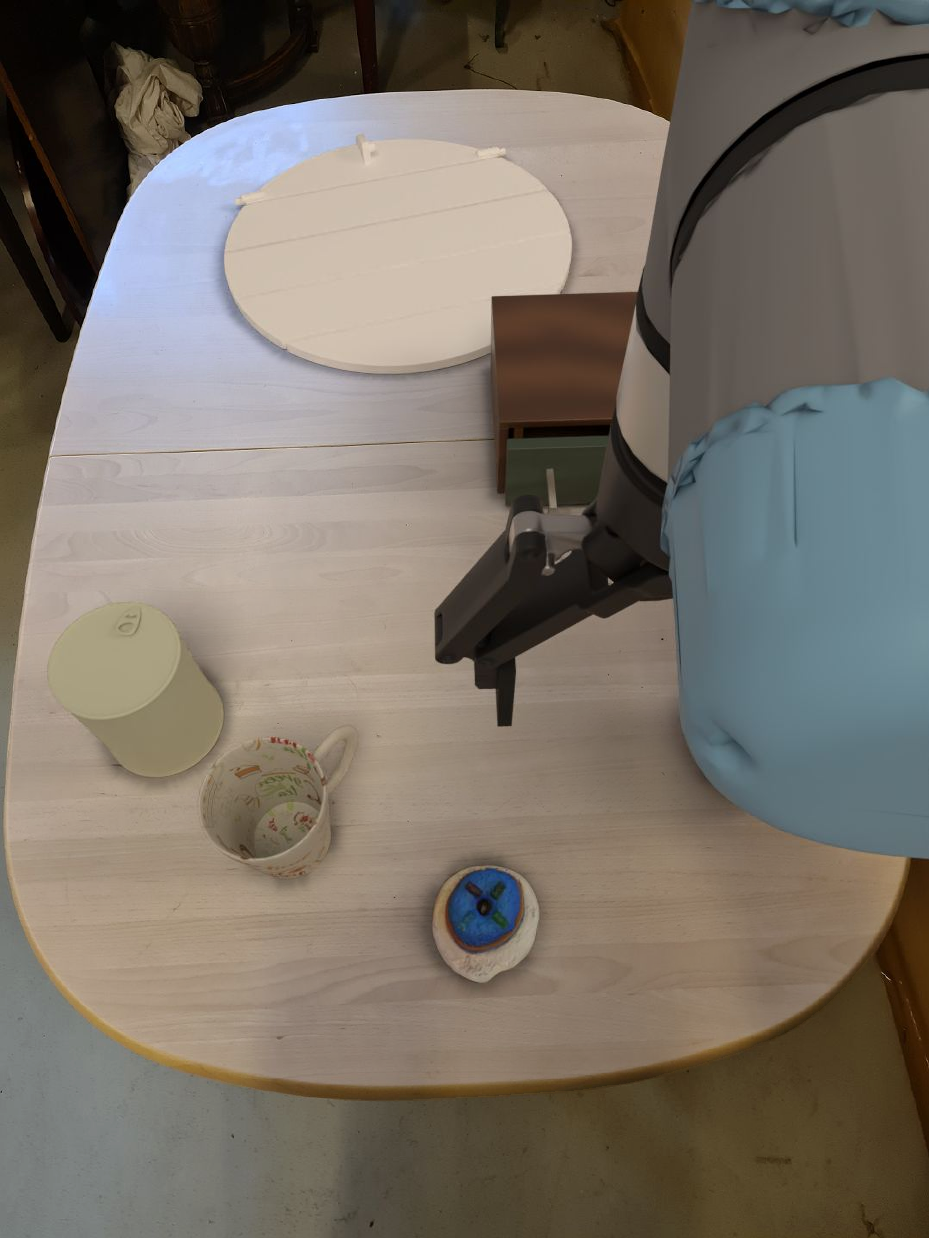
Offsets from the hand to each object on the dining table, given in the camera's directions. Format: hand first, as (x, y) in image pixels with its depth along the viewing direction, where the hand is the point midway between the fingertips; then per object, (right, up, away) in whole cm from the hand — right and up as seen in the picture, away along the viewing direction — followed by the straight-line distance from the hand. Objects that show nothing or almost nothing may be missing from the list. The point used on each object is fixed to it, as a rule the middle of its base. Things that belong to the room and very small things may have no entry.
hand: (629, 699), depth 46 cm
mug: (-21, -11, +19) cm, 30 cm away
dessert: (-7, -17, +15) cm, 24 cm away
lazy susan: (-16, +47, +52) cm, 72 cm away
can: (-33, -4, +23) cm, 40 cm away
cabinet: (+1, +23, +38) cm, 44 cm away
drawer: (+1, +19, +34) cm, 39 cm away
